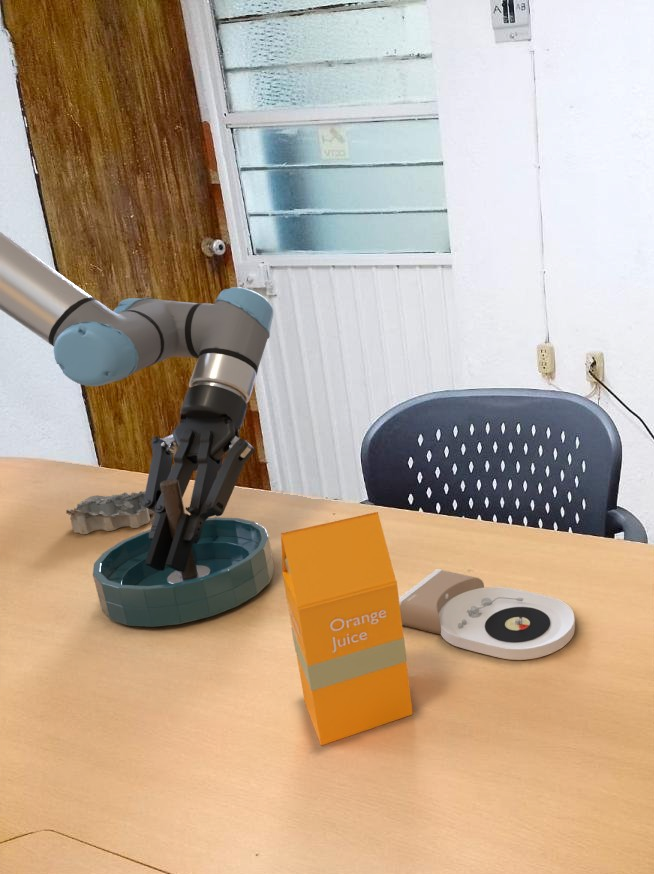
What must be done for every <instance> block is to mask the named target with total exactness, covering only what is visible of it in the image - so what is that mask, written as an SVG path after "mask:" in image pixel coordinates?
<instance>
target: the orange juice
mask: <svg viewBox="0 0 654 874" xmlns="http://www.w3.org/2000/svg"><path fill="white" fill-rule="evenodd" d="M280 540H281V541H280V542H281V559H282V579H283V585H284V591H285V597H286V603H287V608H288V614H289V618H290V619H289V620H290V624H291V633H292V639H293V645H294V650H295V654H296V660H297V666H298V671H299V675H300V676H299V678H300V682H301V683H300V684H301V688H302V694H303V699H304V700H303V701H304V704H305V706H306V707H305V708H306V709H307V711H308V715H309V717H310V720H311V723H312V725H313V728H314V730H315V733H316V736H317V738H318V739H317V740H318V741H319V744H320V746H325V745H327V744H330V743H333V742H336V741H339V740H342V739H346V738H348V737H351V736H354V735H357V734H359V733H363V732H365V731H368V730H371V729H374V728H378V727H380V726H383V725H386V724H389V723H391V722H394V721H398V720H400V719H403V718H406V717H409V716H412V715H413V714H414V712H413V705H412V704H413V703H412V697H411V687H410V680H409V671H408V663H407V662H408V660H407V659H408V658H407V650H406V642H405V637H404V629H403V625H402V621H401V613H400V604H399V597H400V596H399V590H398V589H399V588H398V581H397V579H396V576H395V572H394V568H393V564H392V560H391V557H390V556H391V555H390V553H389V549H388V545H387V541H386V537H385V534H384V530H383V526H382V522H381V519H380V515H379V511H375V512H371V513H366V514H362V515H357V516H353V517H348V518H344V519H339V520H335V521H331V522H326V523H321V524H316V525H313V526H309V527H302V528H299V529H295V530H291V531H286V532H285V531H284V532H281V533H280Z"/></svg>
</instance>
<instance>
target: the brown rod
mask: <svg viewBox="0 0 654 874" xmlns="http://www.w3.org/2000/svg"><path fill="white" fill-rule="evenodd" d="M160 487H161V491H162V496H163V500H164V505H165V509H166V514H167V519H168V523H169V528H170V532H171V537H172V541H173V539H174V536H175V532H176V529H177V526H178V523H179V520H180V517H181V513H182V514H186V509H185V506H184V500H183V498H182V496H181V491H180V486H179V482H178V480H176V479H170V480H165V481H163V482H161V483H160ZM209 574H211V570H210V568H209V567H207V566H203V565H196V562H195V558H194V553H193V548H192V547H191V551H190V554H189V557H188V560H187V564H186V567H185V570H184V572H178V571H174V572H172V573H171V574H170V575H169V576H168V577H167V582H168V584H174V583H178V582H183V581H187V580H192V579H196V578H201V577H204V576H206V575H209Z"/></svg>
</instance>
